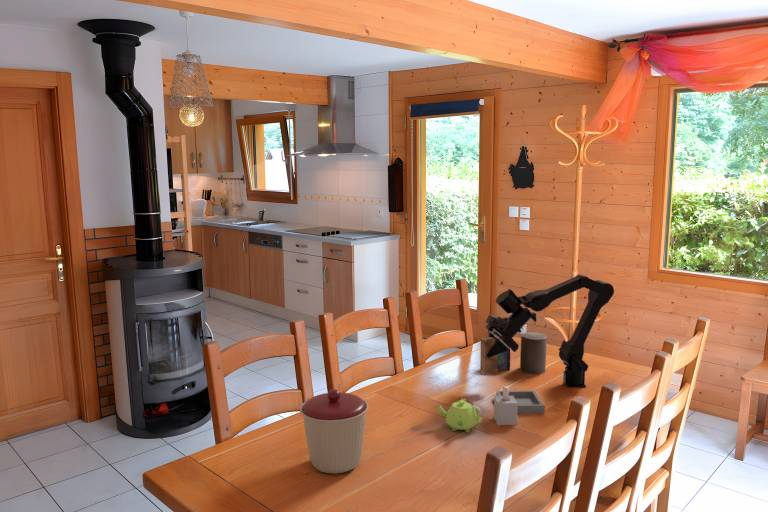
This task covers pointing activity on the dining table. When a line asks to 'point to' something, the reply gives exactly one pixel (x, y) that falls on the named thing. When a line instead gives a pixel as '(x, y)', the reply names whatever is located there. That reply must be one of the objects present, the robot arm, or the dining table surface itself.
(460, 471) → the dining table surface
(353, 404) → the canister
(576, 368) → the robot arm
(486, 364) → the walnut block
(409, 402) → the dining table surface
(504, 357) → the flask
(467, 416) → the teapot
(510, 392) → the tray
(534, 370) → the pillar candle
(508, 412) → the grey soap dispenser
